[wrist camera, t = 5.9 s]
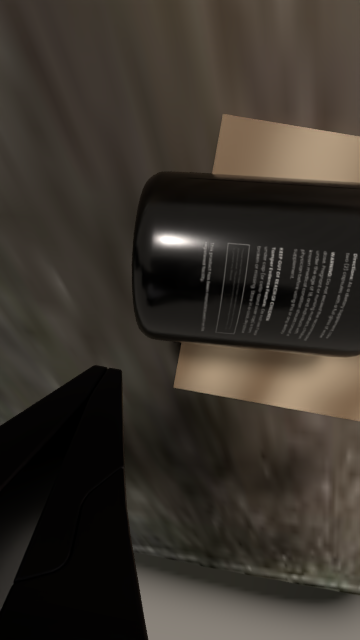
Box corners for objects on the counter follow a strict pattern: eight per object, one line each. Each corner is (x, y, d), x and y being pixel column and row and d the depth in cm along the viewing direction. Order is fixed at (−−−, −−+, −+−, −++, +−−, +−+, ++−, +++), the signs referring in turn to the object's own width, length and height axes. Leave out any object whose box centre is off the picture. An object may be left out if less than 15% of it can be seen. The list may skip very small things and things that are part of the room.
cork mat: (174, 383, 20) (173, 387, 20) (222, 115, 12) (223, 113, 12) (364, 418, 20) (367, 422, 19) (538, 168, 12) (548, 168, 12)
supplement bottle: (151, 340, 15) (382, 366, 14) (114, 331, 8) (557, 381, 7) (166, 220, 16) (386, 238, 15) (144, 119, 9) (549, 142, 8)
